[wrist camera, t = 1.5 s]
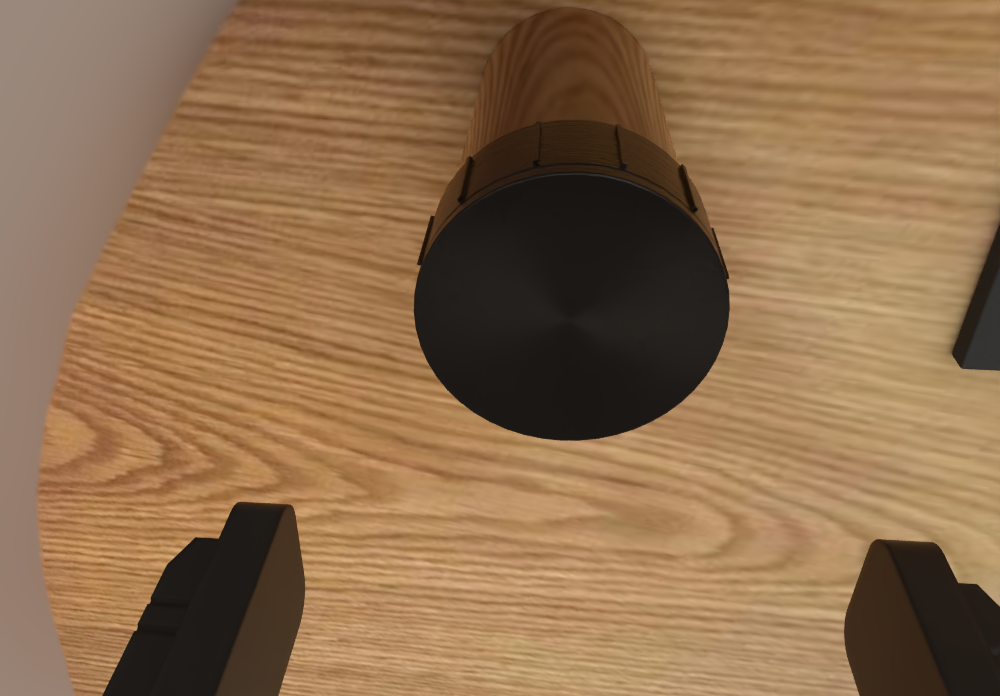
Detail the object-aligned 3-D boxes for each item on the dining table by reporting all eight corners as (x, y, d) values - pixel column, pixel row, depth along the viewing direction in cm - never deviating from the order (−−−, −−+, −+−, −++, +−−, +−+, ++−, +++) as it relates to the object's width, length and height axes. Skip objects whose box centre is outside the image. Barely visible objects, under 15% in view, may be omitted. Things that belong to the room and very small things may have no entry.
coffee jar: (481, 3, 28) (426, 168, 17) (664, 10, 28) (734, 182, 16) (479, 175, 31) (433, 411, 20) (644, 182, 31) (691, 424, 20)
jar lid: (427, 112, 19) (407, 165, 16) (731, 124, 18) (757, 180, 16) (433, 360, 22) (418, 434, 20) (688, 372, 22) (704, 449, 19)
